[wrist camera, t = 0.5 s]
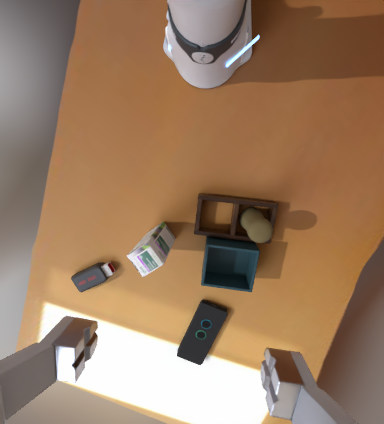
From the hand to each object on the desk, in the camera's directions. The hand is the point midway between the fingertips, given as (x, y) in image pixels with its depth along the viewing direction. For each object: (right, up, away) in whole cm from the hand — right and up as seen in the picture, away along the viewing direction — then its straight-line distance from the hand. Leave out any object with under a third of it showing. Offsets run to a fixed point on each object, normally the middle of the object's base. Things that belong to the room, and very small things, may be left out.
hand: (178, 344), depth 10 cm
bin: (+10, -6, +45) cm, 47 cm away
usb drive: (-27, -11, +50) cm, 58 cm away
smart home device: (+3, -29, +51) cm, 59 cm away
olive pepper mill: (+16, +5, +43) cm, 45 cm away
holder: (+11, +5, +43) cm, 44 cm away
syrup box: (-7, 0, +45) cm, 46 cm away
